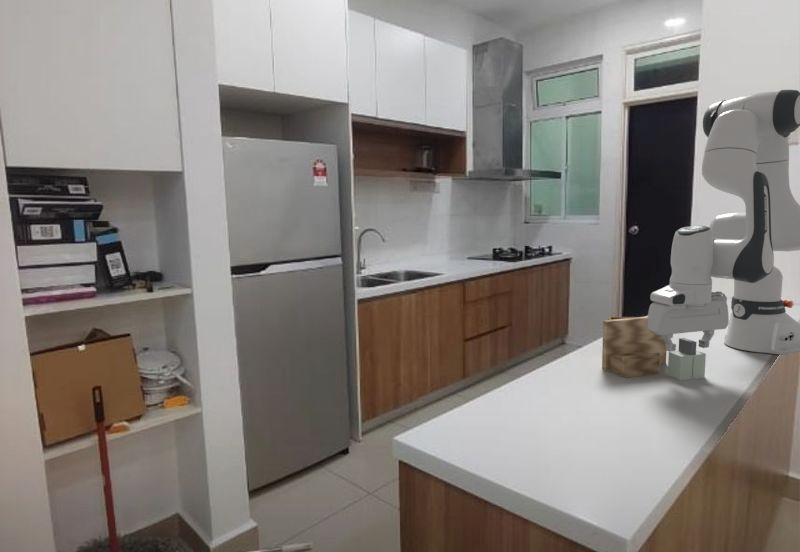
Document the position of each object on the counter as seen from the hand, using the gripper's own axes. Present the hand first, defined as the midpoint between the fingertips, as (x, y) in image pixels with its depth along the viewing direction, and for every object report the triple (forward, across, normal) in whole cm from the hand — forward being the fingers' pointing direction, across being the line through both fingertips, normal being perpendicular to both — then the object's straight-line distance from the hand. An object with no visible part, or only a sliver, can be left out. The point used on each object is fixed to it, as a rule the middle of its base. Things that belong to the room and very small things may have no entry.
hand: (687, 349), depth 121 cm
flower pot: (+7, 0, -23) cm, 24 cm away
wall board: (+7, +7, -7) cm, 12 cm away
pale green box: (+7, 0, 0) cm, 7 cm away
